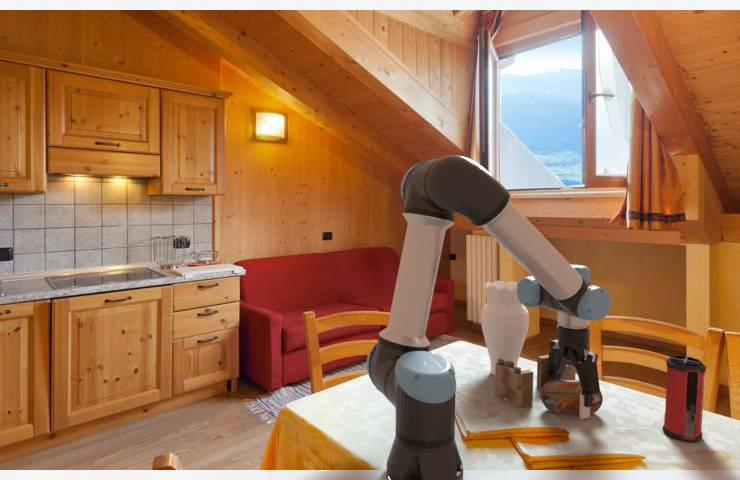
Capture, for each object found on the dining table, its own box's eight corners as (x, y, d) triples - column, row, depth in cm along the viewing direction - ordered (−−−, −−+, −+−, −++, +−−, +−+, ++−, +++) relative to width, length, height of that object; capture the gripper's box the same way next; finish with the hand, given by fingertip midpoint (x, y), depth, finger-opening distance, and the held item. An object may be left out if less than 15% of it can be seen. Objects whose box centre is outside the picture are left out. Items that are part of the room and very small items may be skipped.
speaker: (664, 423, 113) (668, 352, 112) (703, 433, 108) (707, 358, 107) (660, 435, 107) (663, 360, 106) (700, 446, 103) (705, 367, 101)
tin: (542, 413, 119) (543, 381, 118) (538, 408, 122) (539, 377, 122) (602, 416, 118) (603, 383, 117) (597, 410, 121) (598, 379, 120)
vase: (478, 379, 142) (480, 286, 140) (481, 363, 156) (482, 279, 154) (528, 384, 138) (531, 289, 136) (526, 368, 152) (529, 281, 150)
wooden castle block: (575, 395, 130) (576, 360, 129) (517, 407, 122) (518, 370, 122) (550, 383, 139) (551, 350, 138) (494, 393, 131) (495, 358, 131)
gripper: (619, 334, 110) (616, 425, 112) (554, 314, 129) (552, 393, 131) (596, 337, 107) (593, 431, 109) (532, 317, 127) (531, 397, 128)
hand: (570, 410), depth 120 cm, fingers open, 8 cm apart
